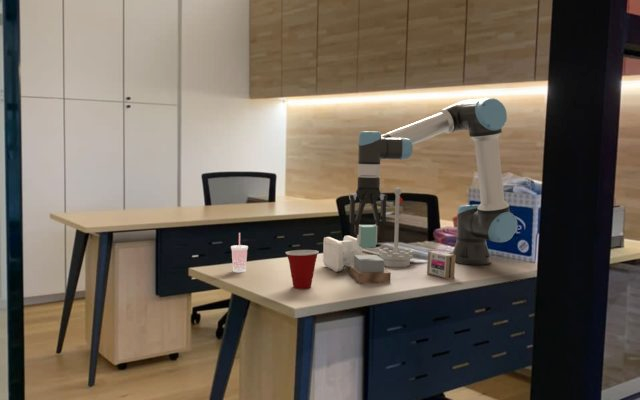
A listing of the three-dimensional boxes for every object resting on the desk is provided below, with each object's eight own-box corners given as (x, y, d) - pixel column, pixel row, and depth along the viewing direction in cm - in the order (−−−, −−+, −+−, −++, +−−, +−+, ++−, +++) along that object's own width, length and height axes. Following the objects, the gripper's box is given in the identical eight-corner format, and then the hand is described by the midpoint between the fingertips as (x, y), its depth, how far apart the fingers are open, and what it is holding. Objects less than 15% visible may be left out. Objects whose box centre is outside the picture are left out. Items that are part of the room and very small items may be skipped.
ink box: (426, 274, 223) (427, 251, 222) (433, 272, 225) (434, 250, 224) (447, 279, 215) (448, 255, 214) (455, 278, 217) (456, 254, 216)
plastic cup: (305, 281, 208) (305, 246, 206) (324, 288, 199) (325, 251, 198) (278, 285, 201) (278, 249, 200) (297, 292, 192) (298, 255, 191)
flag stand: (404, 268, 231) (406, 189, 228) (373, 264, 238) (375, 187, 235) (417, 263, 242) (420, 187, 239) (387, 259, 249) (389, 185, 246)
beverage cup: (250, 271, 221) (250, 233, 220) (234, 273, 218) (235, 234, 217) (243, 268, 226) (243, 231, 225) (228, 270, 223) (228, 232, 222)
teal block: (371, 244, 215) (372, 224, 214) (375, 247, 210) (376, 226, 209) (358, 244, 214) (358, 224, 213) (361, 247, 209) (362, 227, 208)
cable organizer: (363, 272, 224) (364, 240, 223) (336, 274, 220) (337, 242, 219) (346, 264, 238) (347, 234, 237) (321, 265, 234) (321, 235, 233)
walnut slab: (378, 275, 221) (379, 264, 220) (390, 284, 208) (390, 272, 208) (349, 276, 218) (349, 265, 218) (359, 285, 206) (359, 273, 205)
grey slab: (375, 265, 218) (376, 254, 218) (383, 271, 208) (384, 260, 208) (353, 266, 217) (354, 255, 216) (361, 272, 207) (361, 260, 207)
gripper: (391, 176, 215) (388, 241, 217) (340, 175, 212) (339, 242, 214) (397, 177, 207) (395, 245, 210) (345, 177, 204) (343, 245, 207)
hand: (366, 243), depth 212 cm, fingers closed on teal block, 5 cm apart
